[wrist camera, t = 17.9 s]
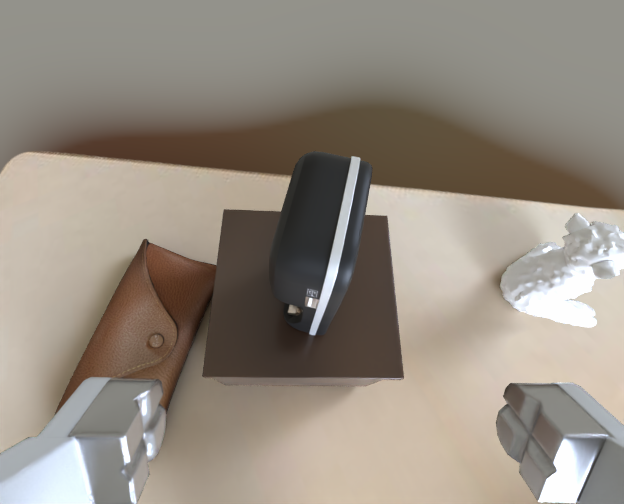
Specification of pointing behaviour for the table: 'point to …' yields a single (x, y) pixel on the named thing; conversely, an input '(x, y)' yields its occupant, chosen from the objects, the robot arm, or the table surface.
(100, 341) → the sunglasses case
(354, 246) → the battery charger
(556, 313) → the sitting furry creature
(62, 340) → the table surface
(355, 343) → the cabinet
